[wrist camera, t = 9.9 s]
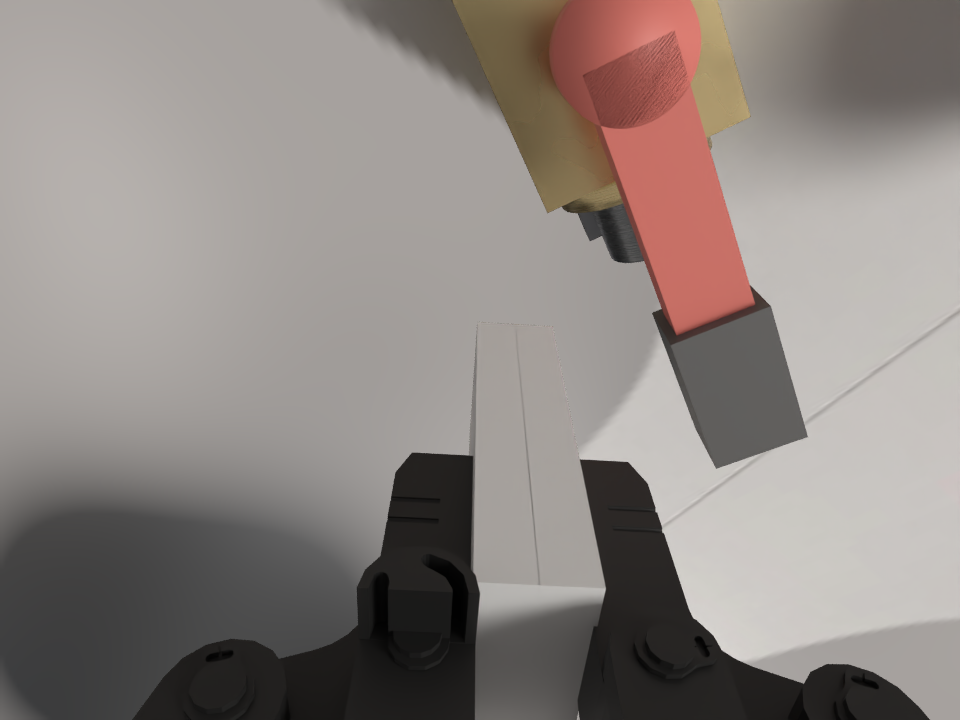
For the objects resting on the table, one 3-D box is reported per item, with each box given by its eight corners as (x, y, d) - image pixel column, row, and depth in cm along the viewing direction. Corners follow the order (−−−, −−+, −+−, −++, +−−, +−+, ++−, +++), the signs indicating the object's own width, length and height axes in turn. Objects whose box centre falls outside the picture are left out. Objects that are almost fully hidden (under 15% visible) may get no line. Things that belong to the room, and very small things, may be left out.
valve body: (396, -138, 24) (350, -220, 15) (577, -251, 22) (636, -410, 14) (568, 248, 31) (602, 339, 22) (716, 180, 29) (813, 250, 21)
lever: (527, 13, 18) (533, 13, 16) (656, -54, 17) (681, -63, 15) (687, 430, 24) (707, 471, 22) (786, 394, 23) (817, 433, 21)
